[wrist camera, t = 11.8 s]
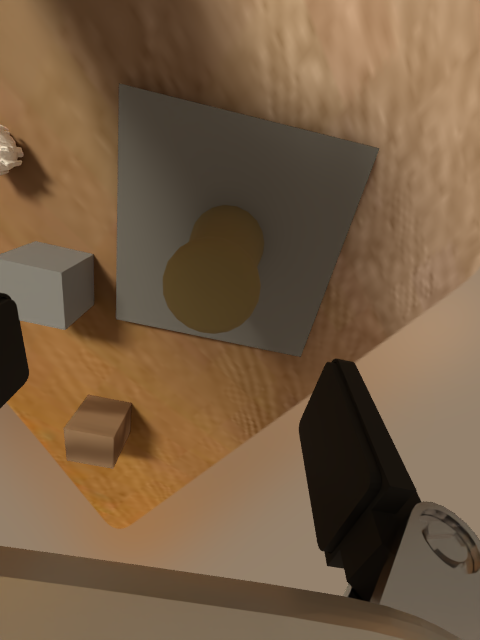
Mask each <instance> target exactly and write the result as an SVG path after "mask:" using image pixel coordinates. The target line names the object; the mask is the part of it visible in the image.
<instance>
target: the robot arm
mask: <svg viewBox="0 0 480 640" xmlns="http://www.w3.org/2000/svg"><path fill="white" fill-rule="evenodd" d="M28 376H29V369H28V363H27V358H26V353H25V347H24V342H23V336H22V331H21V326H20V320H19V315H18V309H17V305H16V303H15V301H13V300H12V299H11V297H10V296H9V295H8V294H5V293H0V408H1V407H2V406H3V405H4V404H5V403H6V402H7V401H8V400H9V399H10V398H11V397H12V396H13V395H14V394H15V393H16V392H17V391H18V390H19V389H20V388H21V387H22V386H23V385H24V384H25V382H26V381H27V379H28ZM299 435H300V441H301V447H302V453H303V459H304V465H305V471H306V477H307V483H308V489H309V495H310V501H311V507H312V513H313V519H314V525H315V531H316V537H317V543H318V546H319V548H320V550H321V551H325V557H326V563H327V566H331V567H337V568H344V570H345V575H346V579H347V582H348V583H349V584H348V586H347V589H346V591H345V593H344V595H343V596H338V595H332V594H326V593H320V592H313V591H308V590H302V589H296V588H289V587H284V586H277V585H271V584H265V583H258V582H252V581H245V580H237V579H231V578H224V577H217V576H210V575H203V574H195V573H189V572H182V571H175V570H168V569H161V568H154V567H147V566H141V565H134V564H126V563H119V562H112V561H105V560H98V559H91V558H83V557H76V556H69V555H62V554H55V553H48V552H40V551H33V550H26V549H19V548H11V547H4V546H0V640H480V540H479V539H478V537H477V535H476V534H475V533H474V532H473V531H472V529H471V528H470V527H469V526H468V525H467V524H466V523H465V522H464V521H463V520H462V519H461V518H459V517H458V516H457V515H456V514H455V513H453V512H452V511H450V510H448V509H447V508H445V507H444V506H441V505H438V504H436V503H433V502H421V500H420V498H419V496H418V494H417V492H416V488H415V486H414V484H413V482H412V480H411V478H410V476H409V474H408V472H407V470H406V468H405V466H404V464H403V462H402V460H401V458H400V455H399V453H398V451H397V449H396V447H395V445H394V443H393V441H392V439H391V437H390V435H389V433H388V431H387V429H386V427H385V425H384V423H383V420H382V418H381V416H380V414H379V412H378V410H377V408H376V406H375V404H374V402H373V400H372V398H371V396H370V394H369V391H368V390H367V387H366V385H365V383H364V381H363V379H362V377H361V375H360V373H359V371H358V369H357V367H356V365H355V363H354V362H350V361H345V360H340V359H334V360H333V361H332V362H327V363H326V365H325V366H324V369H323V371H322V373H321V375H320V378H319V380H318V382H317V384H316V387H315V389H314V391H313V393H312V395H311V398H310V400H309V402H308V405H307V407H306V409H305V411H304V413H303V416H302V418H301V420H300V424H299Z"/></svg>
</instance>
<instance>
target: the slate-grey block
mask: <svg viewBox="0 0 480 640" xmlns="http://www.w3.org/2000/svg"><path fill="white" fill-rule="evenodd" d="M0 293H5V294H8V295H9V296H10V297H11V299H12V300H13V301H15V303H16V305H17V309H18V315H19V320H20V321H25V322H30V323H35V324H40V325H44V326H49V327H54V328H59V329H64V330H66V329H67V328H68V327H69V326H70V325H71V324H73V323H74V322H75V321H76V320H77V319H78V318H79V317H80V316H82V315H83V314H84V313H85V312H86V311H87V310H88V309H90V308H91V307H92V306H93V305H94V254H90V253H86V252H81V251H77V250H72V249H68V248H63V247H59V246H55V245H50V244H46V243H41V242H37V241H35V242H32V243H30V244H27V245H24V246H21V247H19V248H16V249H13V250H10V251H8V252H5V253H2V254H0Z"/></svg>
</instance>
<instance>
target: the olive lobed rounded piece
mask: <svg viewBox="0 0 480 640" xmlns="http://www.w3.org/2000/svg"><path fill="white" fill-rule="evenodd" d="M263 249H264V238H263V232H262V229H261V228H260V226H259V224H258V222H257V220H256V219H255V218H254V217H253V216H252V215H251V214H250V213H249V212H247V211H245V210H243V209H241V208H239V207H237V206H229V205H222V206H217V207H213V208H211V209H209V210H208V211H206V212H205V213H203V214H202V215H201V216H200V217H199V219H198V220H197V221H196V222H195V224H194V227H193V230H192V232H191V235H190V239H189V242H188V243H186V244H185V245H183V246H181V247H180V248H179V249H178V250H177V251H176V252H175V253H174V255H173V256H172V257H171V258H170V260H169V261H168V263H167V266H166V269H165V272H164V275H163V295H164V298H165V301H166V303H167V306H168V308H169V309H170V311H171V312H172V313H173V315H174V316H175V317H176V319H178V320H179V321H180V322H182V323H183V324H184V325H186V326H187V327H188V328H191V329H193V330H196V331H198V332H202V333H211V334H216V333H222V332H228V331H230V330H232V329H234V328H237V327H239V326H241V325H242V324H243V323H244V322H245V321H246V320H247V319H248V318H249V317H250V316H251V314H252V313H253V311H254V309H255V307H256V305H257V303H258V301H259V295H260V288H261V284H260V278H259V273H258V268H257V266H258V264H259V262H260V260H261V257H262V255H263Z"/></svg>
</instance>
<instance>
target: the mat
mask: <svg viewBox="0 0 480 640" xmlns="http://www.w3.org/2000/svg"><path fill="white" fill-rule="evenodd" d="M378 151H379V148H376V147H372V146H368V145H364V144H360V143H356V142H352V141H348V140H344V139H340V138H336V137H332V136H328V135H324V134H320V133H316V132H312V131H308V130H304V129H300V128H296V127H292V126H288V125H284V124H280V123H276V122H272V121H268V120H264V119H260V118H256V117H252V116H248V115H244V114H240V113H236V112H232V111H228V110H224V109H220V108H216V107H212V106H208V105H204V104H200V103H196V102H192V101H188V100H184V99H180V98H176V97H172V96H168V95H164V94H160V93H156V92H152V91H148V90H144V89H140V88H136V87H132V86H128V85H124V84H120V83H119V122H118V200H117V278H116V319H118V320H123V321H128V322H133V323H138V324H143V325H147V326H152V327H157V328H162V329H167V330H172V331H177V332H182V333H186V334H191V335H196V336H201V337H206V338H211V339H216V340H221V341H225V342H230V343H235V344H240V345H245V346H250V347H255V348H260V349H264V350H269V351H274V352H279V353H284V354H289V355H294V356H299V357H301V355H302V352H303V349H304V347H305V344H306V341H307V339H308V336H309V333H310V331H311V328H312V325H313V323H314V320H315V318H316V315H317V312H318V310H319V307H320V304H321V302H322V299H323V296H324V294H325V291H326V288H327V286H328V283H329V281H330V278H331V275H332V273H333V270H334V267H335V265H336V262H337V259H338V257H339V254H340V251H341V249H342V246H343V244H344V241H345V238H346V236H347V233H348V230H349V228H350V225H351V222H352V220H353V217H354V214H355V212H356V209H357V207H358V204H359V201H360V199H361V196H362V193H363V191H364V188H365V185H366V183H367V180H368V177H369V175H370V172H371V170H372V167H373V164H374V162H375V159H376V156H377V154H378ZM222 205H229V206H237V207H239V208H241V209H243V210H245V211H247V212H249V213H250V214H251V215H252V216H253V217H254V218H255V219H256V220H257V222H258V224H259V226H260V228H261V229H262V232H263V238H264V249H263V255H262V257H261V260H260V262H259V264H258V266H257V268H258V273H259V278H260V284H261V288H260V295H259V301H258V303H257V305H256V307H255V309H254V311H253V313H252V314H251V316H250V317H249V318H248V319H247V320H246V321H245V322H244V323H243V324H242V325H241V326H239V327H237V328H234V329H232V330H230V331H228V332H222V333H216V334H211V333H202V332H198V331H196V330H193V329H191V328H188V327H187V326H186V325H184V324H183V323H182V322H180V321H179V320H178V319H176V317H175V316H174V315H173V313H172V312H171V311H170V309H169V308H168V306H167V303H166V301H165V298H164V295H163V275H164V272H165V269H166V266H167V263H168V261H169V260H170V258H171V257H172V256H173V255H174V253H175V252H176V251H177V250H178V249H179V248H180V247H181V246H183V245H185V244H186V243H188V242H189V239H190V235H191V232H192V230H193V227H194V224H195V222H196V221H197V220H198V219H199V217H200V216H201V215H202V214H203V213H205V212H206V211H208V210H209V209H211V208H213V207H217V206H222Z"/></svg>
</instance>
